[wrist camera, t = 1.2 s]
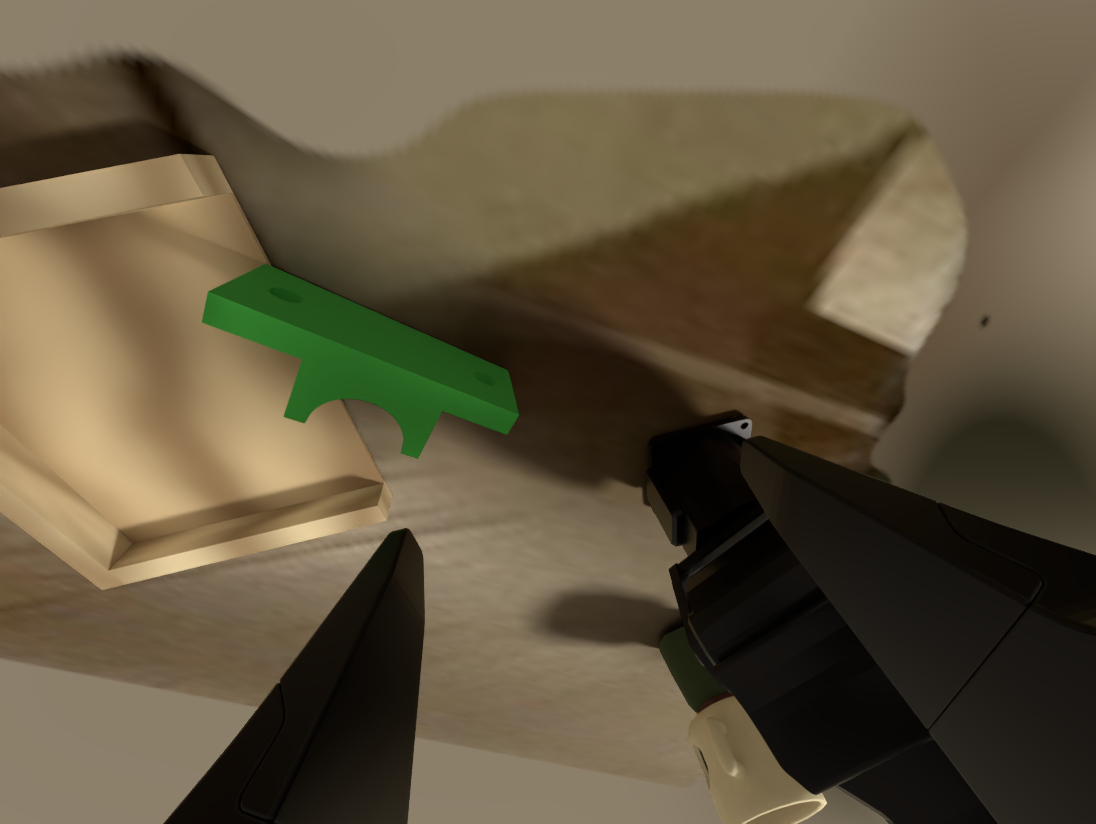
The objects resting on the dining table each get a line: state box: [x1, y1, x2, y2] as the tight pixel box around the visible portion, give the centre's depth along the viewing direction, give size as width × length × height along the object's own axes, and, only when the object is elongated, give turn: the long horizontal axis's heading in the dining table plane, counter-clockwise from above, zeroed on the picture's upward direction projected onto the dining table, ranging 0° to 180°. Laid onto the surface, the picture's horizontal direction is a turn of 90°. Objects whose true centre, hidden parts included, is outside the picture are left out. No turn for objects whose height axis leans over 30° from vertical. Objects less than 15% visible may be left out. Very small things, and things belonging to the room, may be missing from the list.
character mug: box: [659, 626, 827, 824], centre depth 32 cm, size 11×7×13 cm, turn 39°
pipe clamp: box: [202, 264, 519, 459], centre depth 17 cm, size 11×4×5 cm, turn 59°
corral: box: [0, 154, 392, 590], centre depth 18 cm, size 15×17×2 cm
